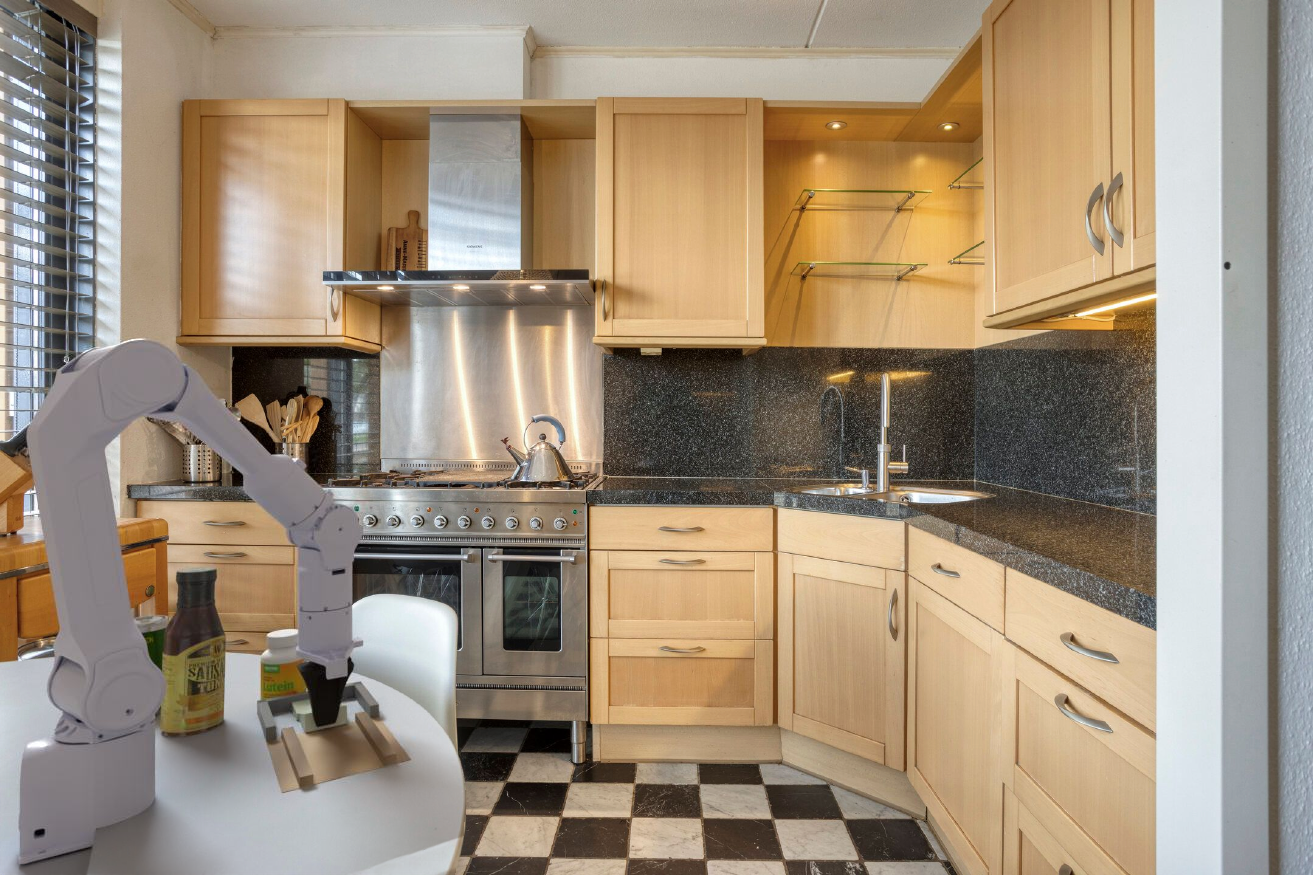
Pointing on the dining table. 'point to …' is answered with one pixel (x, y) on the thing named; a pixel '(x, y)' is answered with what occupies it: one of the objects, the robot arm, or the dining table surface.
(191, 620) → the sauce bottle
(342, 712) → the tile near
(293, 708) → the tile far
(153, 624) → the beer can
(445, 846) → the dining table surface
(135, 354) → the robot arm
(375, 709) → the box
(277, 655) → the supplement bottle
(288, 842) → the dining table surface
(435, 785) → the dining table surface
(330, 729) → the board
